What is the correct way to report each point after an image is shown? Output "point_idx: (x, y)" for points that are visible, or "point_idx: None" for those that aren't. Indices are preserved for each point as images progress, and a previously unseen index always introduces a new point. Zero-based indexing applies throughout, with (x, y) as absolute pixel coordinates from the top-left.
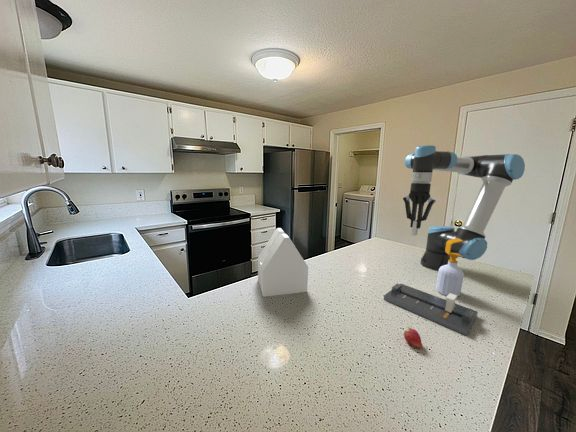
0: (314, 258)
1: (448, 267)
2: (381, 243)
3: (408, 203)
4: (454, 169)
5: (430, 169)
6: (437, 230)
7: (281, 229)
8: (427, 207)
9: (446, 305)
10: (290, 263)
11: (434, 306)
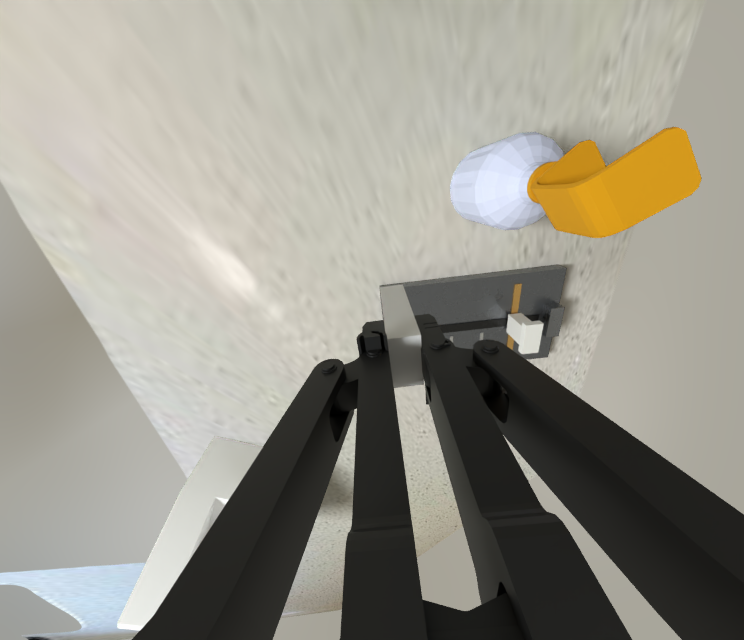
0: (102, 342)
1: (520, 209)
2: None
3: (263, 613)
4: None
5: None
6: None
7: (137, 625)
8: (628, 557)
9: (513, 337)
10: None
11: (483, 328)
